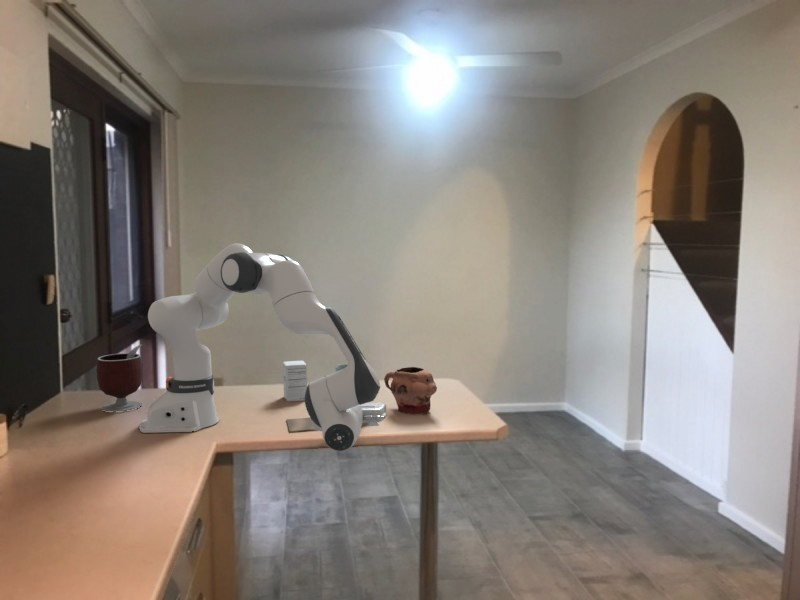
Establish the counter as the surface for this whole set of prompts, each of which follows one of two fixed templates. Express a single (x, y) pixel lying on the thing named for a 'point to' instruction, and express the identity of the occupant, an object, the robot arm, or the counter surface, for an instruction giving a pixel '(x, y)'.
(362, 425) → the slate mat
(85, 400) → the counter surface
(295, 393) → the supplement box
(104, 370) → the mate gourd
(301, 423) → the walnut coaster
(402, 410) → the sculpted character mug
